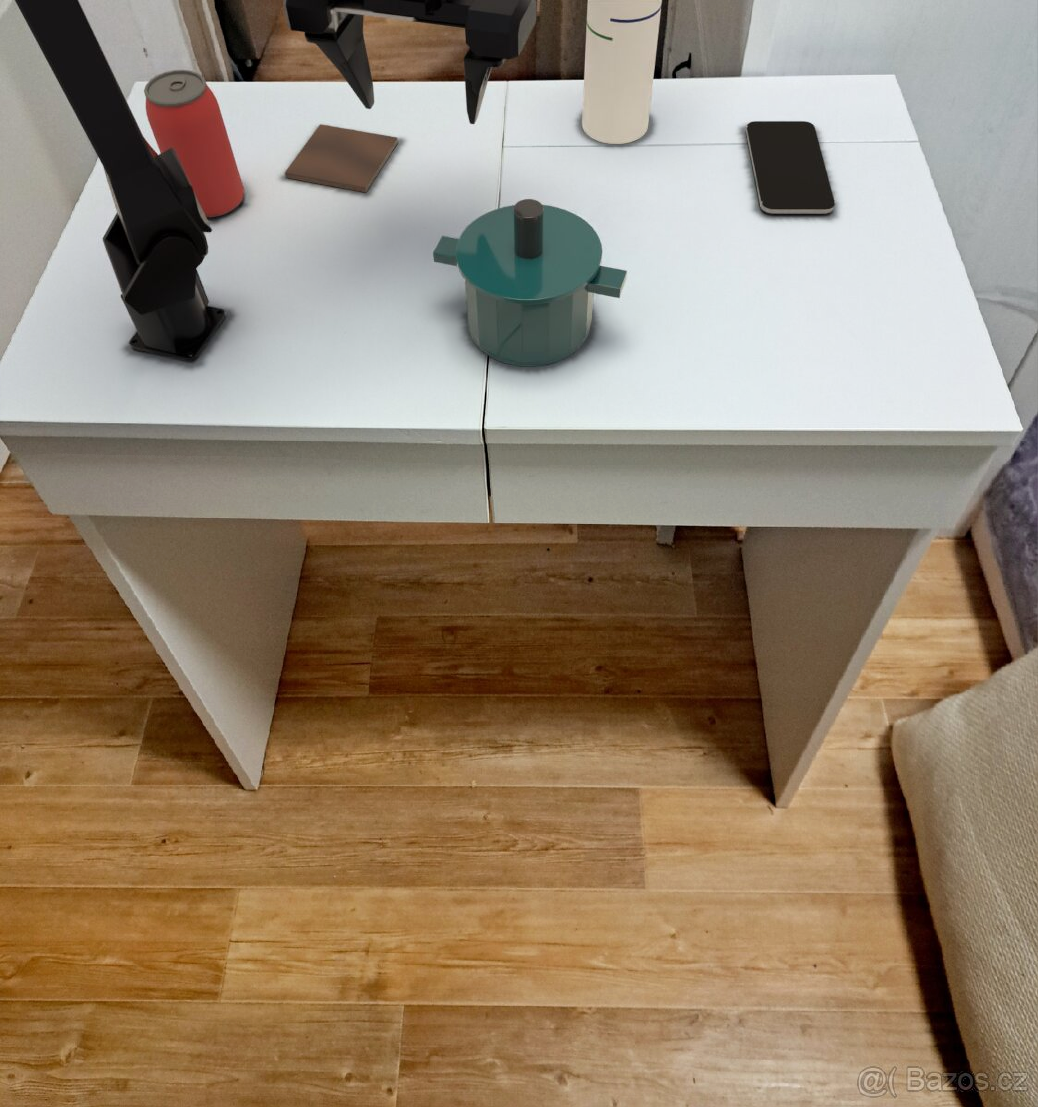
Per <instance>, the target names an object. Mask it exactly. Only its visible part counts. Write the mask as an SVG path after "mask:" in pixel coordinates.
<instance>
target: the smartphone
mask: <svg viewBox="0 0 1038 1107" xmlns="http://www.w3.org/2000/svg"><path fill="white" fill-rule="evenodd" d="M745 136H746V139H747V140H746V141H747V144H748V150H749V155H750V161H751V164H752V170H753V175H754V180H755V184H756V185H755V186H756V191H757V197H758V201H759V206H760V209H761V210H762V211H763V212H765V213H767V214H777V215H778V214H779V215H780V214H785V215H786V214H793V215H794V214H799V215H800V214H801V215H802V214H803V215H804V214H806V215H808V214H809V215H811V214H813V215H814V214H817V215H818V214H819V215H820V214H821V215H822V214H823V215H824V214H825V215H826V214H830V213H831V212H833V211H834V209H835V205H836V201H835V198H834V194H833V189H832V187H831V182H830V179H829V175H828V171H827V168H826V163H825V161H824V160H825V159H824V156H823V153H822V149H821V146H820V141H819V138H818V134H817V130H816V127H815V125H814V124H813V123H812V122H810V121H804V120H775V121H774V120H754V121H750V122H749V123H747V124H746V127H745Z"/></svg>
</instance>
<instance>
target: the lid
mask: <svg viewBox="0 0 1038 1107" xmlns="http://www.w3.org/2000/svg"><path fill="white" fill-rule="evenodd" d="M458 239H459V240H458V242H457V246H456V263H457V266H456V267H457V269H458V272H459V273H460V275H461V277H462V278H463V280H464V281H465V280H466V282H467V283H468V284H469V285H470V286H472V287H473V288H474V289H476V290H477V291H479V292H480V293H482V294H484V295H486V296H488V297H490V298H493V299H496V300H499V301H503V302H507V303H514V304H542V303H548V302H553V301H557V300H560V299H563V298H566V297H568V296H570V295H573V294H574V293H576V292H578V291H580V290H581V289H582V288H584V287H585V286H586V285H587V284H588V283H589V282H590V281H591V280H592V279H593V278H594V277H595V275H596V274H597V272H598V270H599V268H600V266H602V261H603V260H602V259H603V245H602V242H601V238H600V237H599V235H598V233H597V231H596V230H595V229H594V228H593V226H592V225H591V224H590V223H589V222H588V221H586V220H585V219H584V218H582V217H580V216H579V215H577V214H575V213H573V212H572V211H569V210H567V209H565V208H560V207H557V206H553V205H547V204H542V202H541V201H539V200H537V199H533V198H524V199H521V200H519V201H517V202H516V203H515V204H512V205H507V206H502V207H499V208H495V209H493V210H491V211H488V212H485V213H483V214H482V215H480V216H478V217H477V218H475V219H474V220H472V222H470V223H469V224H468V225H467V226H466V227H465V228H464V230H463V231H462V232H461V234H460V236H459V238H458Z"/></svg>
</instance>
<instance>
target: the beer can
mask: <svg viewBox="0 0 1038 1107" xmlns="http://www.w3.org/2000/svg"><path fill="white" fill-rule="evenodd" d="M143 93H144V96H145V112H146V114H145V115H146V118H147V121H148V124H149V126H150V128H151V131H152V134H153V137H154V139H155V142H156V145H157V147H158V150H159V154H161V153H163V152H164V151H166V150H168V149H170V148H174V150H175V152H176V154H177V156H178V158H179V161H180V163H181V165H182V167H183V169H184V171H185V173H186V175H187V177H188V179H189V182H190V184H191V186H192V188H193V191H194V193H195V195H196V197H197V199H198V201H199V203H200V205H201V208H202V210H203V212H204V214H205V216H206V218H207V219H208V218H217V217H221V216H224V215H226V214H228V213H230V212H232V211H233V210H235V209H236V208H237V207H238V206H239V205H240V204H241V202H242V201H243V199H244V195H245V188H244V184H243V181H242V177H241V175H240V171H239V168H238V164H237V162H236V158H235V154H234V151H233V147H232V144H231V140H230V138H229V135H228V131H227V128H226V124H225V122H224V118H223V114H222V112H221V108H220V104H219V102H218V99H217V97H216V96H215V94H214V92H213V90H212V89H211V88H210V87H209V85H208V84H207V81H206V79H205V77H204V76H203V75H202V74H201V73H199V72H196V71H194V70H189V69H173V70H169V71H165V72H162V73H159V74H157V75H155V76H154V77H152V78H151V79H149V81H148V82H147V83H146V84H145V86H144V89H143Z"/></svg>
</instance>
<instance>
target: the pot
mask: <svg viewBox="0 0 1038 1107" xmlns="http://www.w3.org/2000/svg"><path fill="white" fill-rule="evenodd" d="M458 240H459V238H457V237H451V236H447V235H442V236H441V237H440V239H439V240H438V242H437V245H436V246H435V248H434V250H433V251H432V255H433V262H434V263H438V264H444V265H448V266H454V267H457V263H456V246H457V242H458ZM627 277H628V270H625V269H620V268H615V267H610V266H605V265H600V268H599V270H598V272H597V274H596V275H595V277H594V278H593V279H592V280H591V281H590V282H589V283H588V284H587V285H586V286H585V287H584V288H582V289H581V290H580V291H578V292H576V293H574V294H573V295H570V296H568V297H566V298H563V299H560V300H557V301H553V302H548V303H542V304H514V303H507V302H503V301H499V300H496V299H493V298H490V297H488V296H486V295H484V294H482V293H480V292H479V291H477V290H476V289H474V288H473V287H472V286H470V285H469V284H468V283H467V282H466V280H465V279H464V289H465V300H466V312H467V313H466V315H467V324H468V331H469V334H470V337H471V340H472V341H473V342H474V344H475V346H477V348H478V349H479V350H480V351H482V352H483V353H484V354H485V355H486V356H488V357H490V358H492V359H494V360H496V361H498V362H501V363H503V364H507V365H511V366H518V367H540V366H547V365H550V364H554V363H558V362H560V361H562V360H565V359H567V358H568V357H570V356H571V355H573V354H574V353H576V351H578V350H579V349H580V348H581V347H582V346H583V344H584V343H585V342H586V340H587V338H588V336H589V334H590V330H591V324H592V322H593V305H594V294H596V295H601V296H606V297H611V298H616V299H620V298H621V296H622V293H623V290H624V287H625V283H626V281H627Z"/></svg>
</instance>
